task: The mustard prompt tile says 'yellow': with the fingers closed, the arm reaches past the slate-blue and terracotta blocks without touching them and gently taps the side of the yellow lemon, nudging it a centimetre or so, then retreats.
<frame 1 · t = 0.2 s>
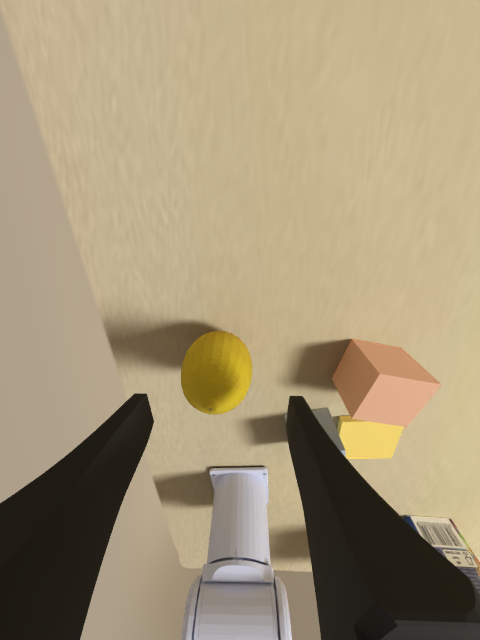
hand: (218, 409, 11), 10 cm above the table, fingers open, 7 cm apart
prompt tile: (364, 434, 27), on the table
terracotta block: (364, 363, 22), on the table
juice carton: (411, 531, 39), on the table
lemon: (222, 340, 21), on the table
slate block: (307, 424, 27), on the table
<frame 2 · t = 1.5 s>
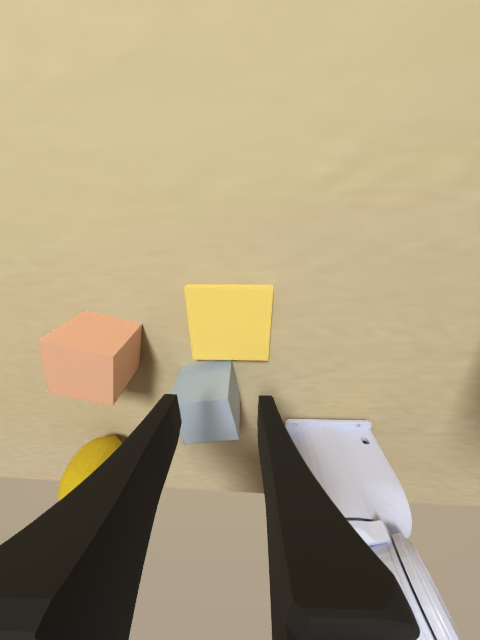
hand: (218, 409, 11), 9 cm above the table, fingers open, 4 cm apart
prompt tile: (230, 322, 20), on the table
terracotta block: (114, 339, 21), on the table
lemon: (116, 434, 27), on the table
slate block: (212, 381, 23), on the table
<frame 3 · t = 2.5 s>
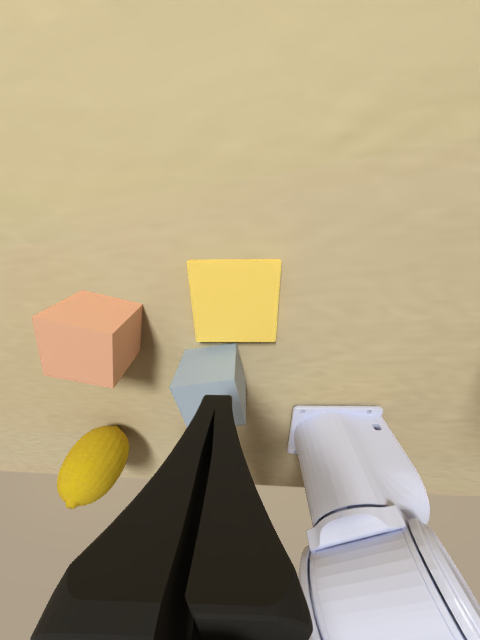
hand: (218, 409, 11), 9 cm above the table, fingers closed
prompt tile: (235, 301, 19), on the table
terracotta block: (113, 322, 20), on the table
lemon: (117, 424, 26), on the table
slate block: (216, 366, 22), on the table
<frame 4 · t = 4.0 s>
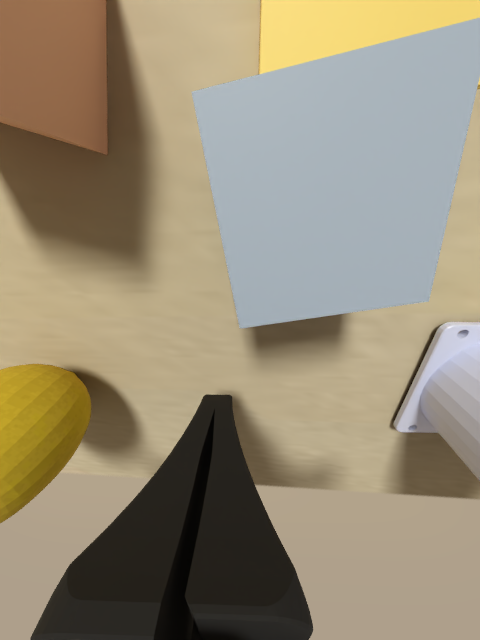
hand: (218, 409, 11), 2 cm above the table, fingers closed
terracotta block: (29, 40, 7), on the table
lemon: (74, 372, 14), on the table
slate block: (290, 211, 9), on the table
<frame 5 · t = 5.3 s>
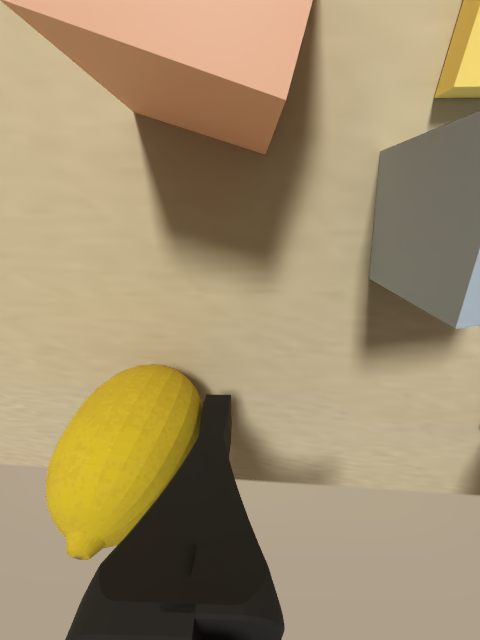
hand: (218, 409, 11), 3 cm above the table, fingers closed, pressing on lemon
terracotta block: (215, 40, 7), on the table
lemon: (172, 372, 14), on the table, touching gripper
slate block: (434, 211, 9), on the table
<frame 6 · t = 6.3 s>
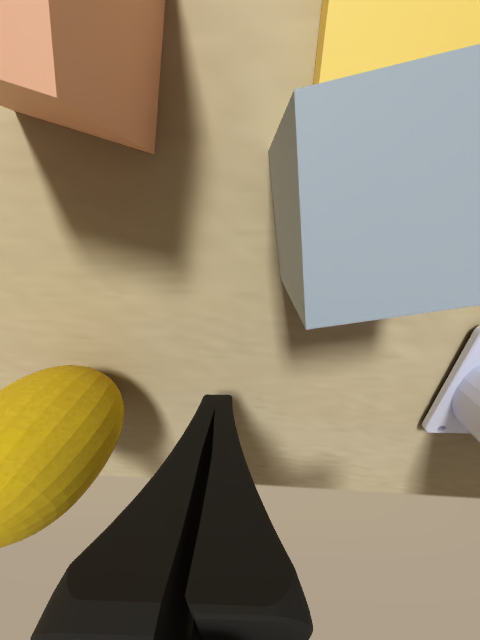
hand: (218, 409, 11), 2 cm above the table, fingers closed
terracotta block: (84, 38, 7), on the table
lemon: (103, 373, 14), on the table
slate block: (334, 211, 9), on the table
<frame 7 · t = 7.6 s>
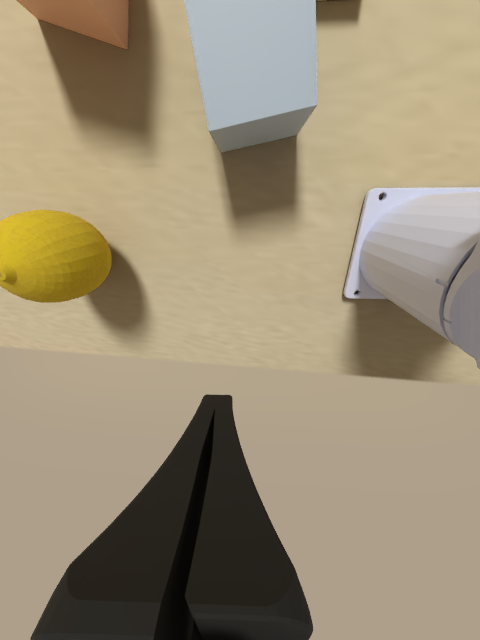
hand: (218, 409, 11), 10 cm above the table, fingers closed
lemon: (98, 246, 18), on the table
slate block: (252, 93, 13), on the table
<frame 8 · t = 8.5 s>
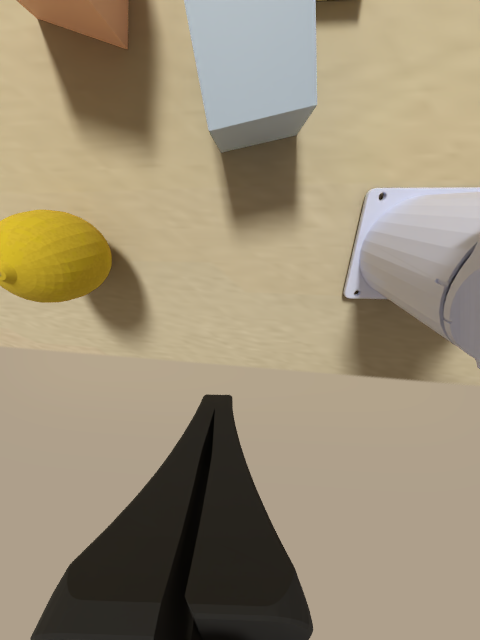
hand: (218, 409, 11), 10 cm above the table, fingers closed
lemon: (98, 246, 18), on the table
slate block: (252, 93, 13), on the table
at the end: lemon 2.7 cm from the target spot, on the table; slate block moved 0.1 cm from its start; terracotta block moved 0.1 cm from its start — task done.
